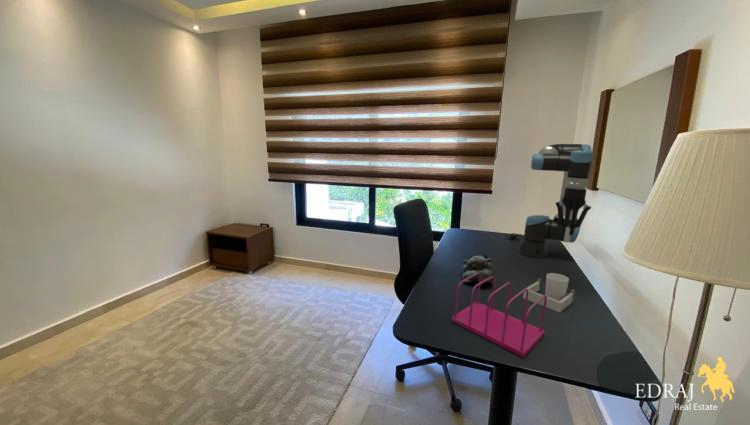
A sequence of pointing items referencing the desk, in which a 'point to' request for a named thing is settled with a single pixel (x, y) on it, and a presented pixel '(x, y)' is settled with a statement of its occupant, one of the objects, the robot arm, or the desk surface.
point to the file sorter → (500, 321)
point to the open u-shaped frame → (550, 302)
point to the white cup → (556, 286)
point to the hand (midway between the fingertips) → (566, 241)
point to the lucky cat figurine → (477, 268)
